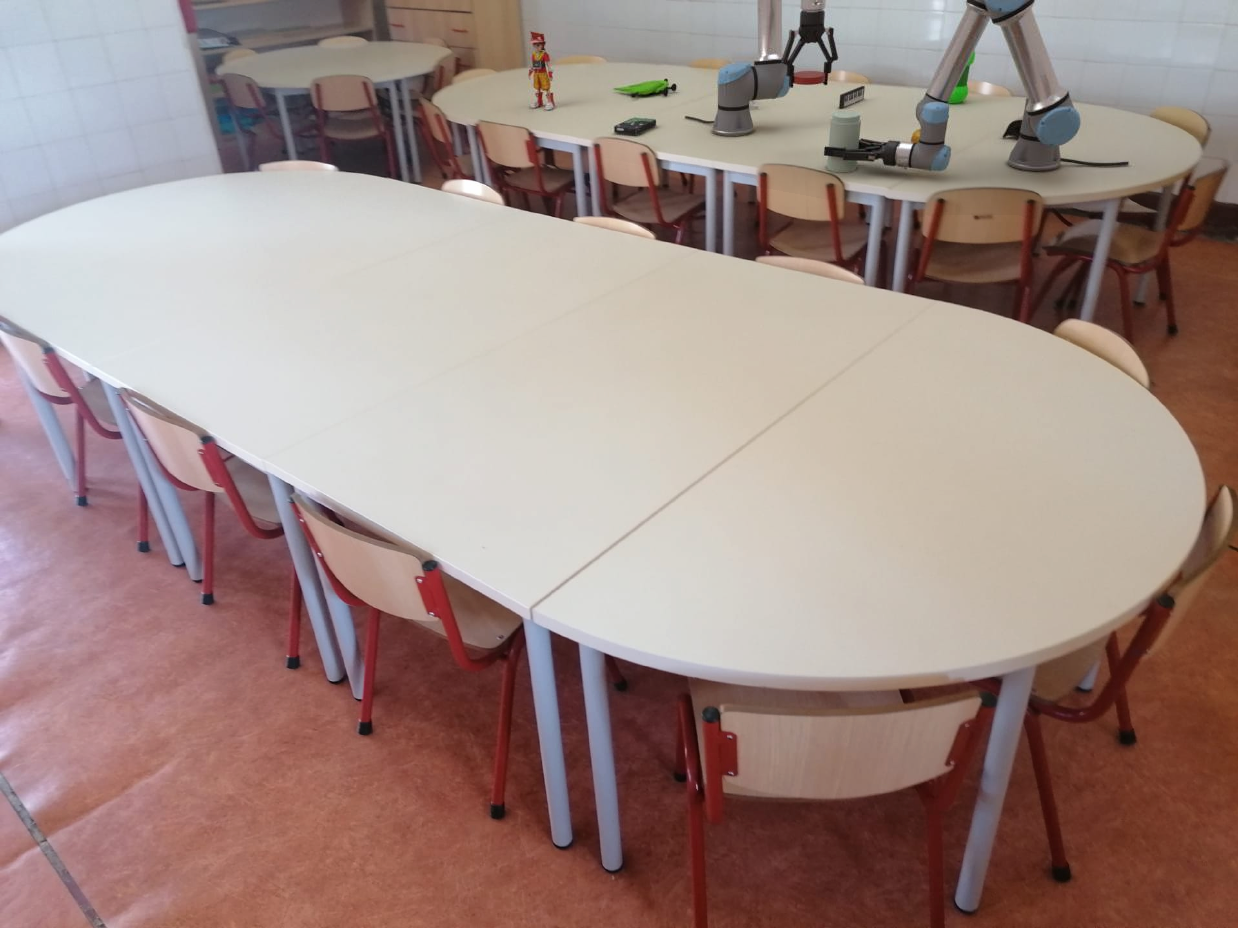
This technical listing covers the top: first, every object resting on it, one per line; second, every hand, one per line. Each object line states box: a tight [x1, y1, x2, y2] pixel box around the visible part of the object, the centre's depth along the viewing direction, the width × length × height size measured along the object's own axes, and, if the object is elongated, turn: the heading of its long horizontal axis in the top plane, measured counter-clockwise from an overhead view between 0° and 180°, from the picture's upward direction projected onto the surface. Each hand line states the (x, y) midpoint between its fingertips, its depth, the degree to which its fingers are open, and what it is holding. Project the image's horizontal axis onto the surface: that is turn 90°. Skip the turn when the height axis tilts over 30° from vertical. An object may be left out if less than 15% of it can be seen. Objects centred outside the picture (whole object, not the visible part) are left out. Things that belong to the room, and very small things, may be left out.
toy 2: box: [612, 78, 677, 99], centre depth 396 cm, size 28×5×30 cm
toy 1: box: [527, 31, 556, 111], centre depth 374 cm, size 12×9×30 cm
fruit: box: [910, 128, 921, 143], centre depth 303 cm, size 8×8×8 cm
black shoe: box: [1002, 115, 1023, 140], centre depth 316 cm, size 30×9×10 cm
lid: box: [793, 70, 825, 86], centre depth 289 cm, size 10×10×2 cm
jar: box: [826, 110, 862, 173], centre depth 289 cm, size 9×9×17 cm
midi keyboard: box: [838, 85, 866, 109], centre depth 359 cm, size 18×1×5 cm, turn 138°
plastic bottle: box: [948, 49, 976, 104], centre depth 348 cm, size 10×10×25 cm
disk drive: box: [613, 116, 657, 136], centre depth 344 cm, size 10×3×15 cm
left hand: (808, 85), depth 291 cm, fingers closed on lid, 10 cm apart
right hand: (830, 147), depth 292 cm, fingers closed on jar, 9 cm apart
